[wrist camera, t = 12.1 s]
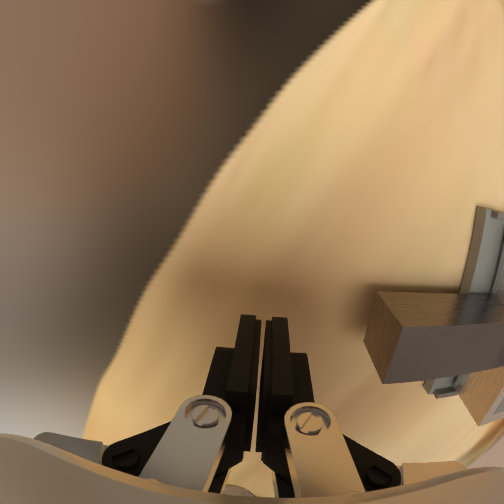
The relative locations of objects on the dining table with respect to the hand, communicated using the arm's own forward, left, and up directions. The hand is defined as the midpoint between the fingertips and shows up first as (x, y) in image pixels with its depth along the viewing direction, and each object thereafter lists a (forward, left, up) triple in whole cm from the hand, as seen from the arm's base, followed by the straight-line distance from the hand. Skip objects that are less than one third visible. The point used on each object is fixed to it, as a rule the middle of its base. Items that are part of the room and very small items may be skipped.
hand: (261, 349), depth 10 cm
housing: (0, -15, -4) cm, 15 cm away
